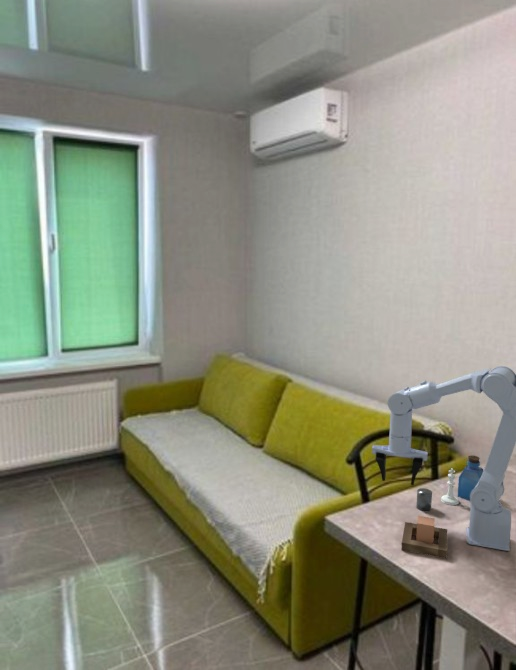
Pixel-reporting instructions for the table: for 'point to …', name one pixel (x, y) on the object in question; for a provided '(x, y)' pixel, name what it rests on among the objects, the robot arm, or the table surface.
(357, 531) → the table surface
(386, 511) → the table surface
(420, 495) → the metal cylinder
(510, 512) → the robot arm
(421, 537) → the terracotta block
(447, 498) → the chess piece
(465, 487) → the perfume bottle
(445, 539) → the walnut collar
